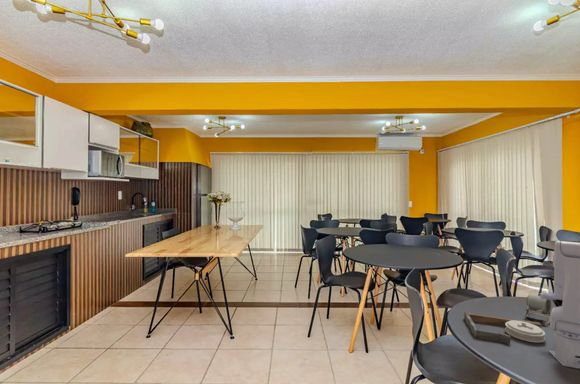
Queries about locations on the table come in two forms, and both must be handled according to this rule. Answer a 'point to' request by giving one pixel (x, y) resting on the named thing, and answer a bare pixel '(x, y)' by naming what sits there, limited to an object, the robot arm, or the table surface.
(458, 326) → the table surface
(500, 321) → the u-shaped bar frame
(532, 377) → the table surface
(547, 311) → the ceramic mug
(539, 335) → the lid
